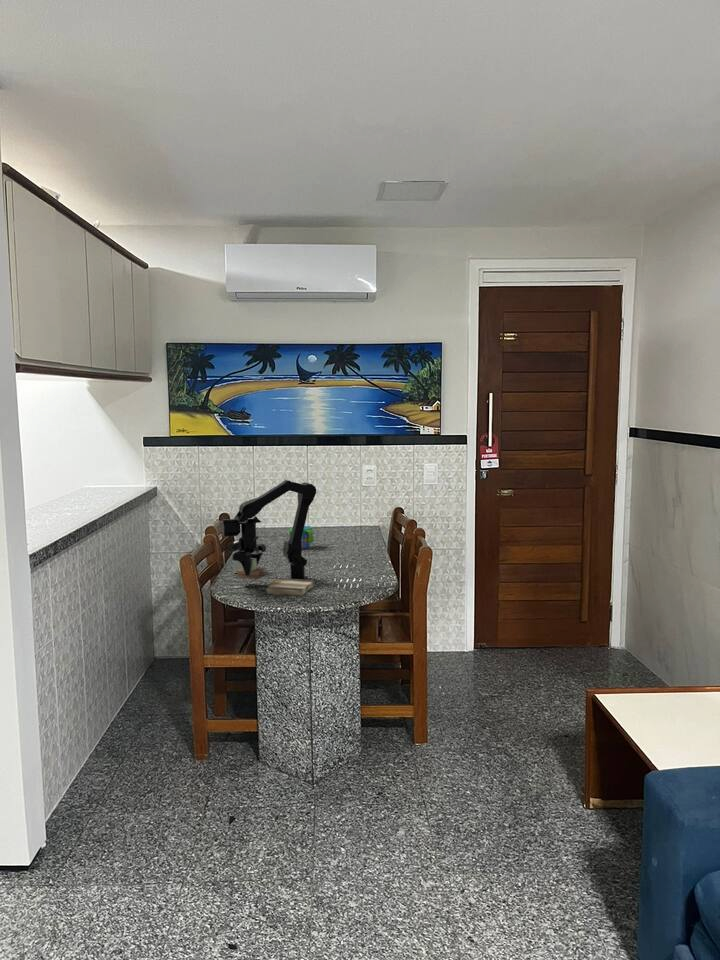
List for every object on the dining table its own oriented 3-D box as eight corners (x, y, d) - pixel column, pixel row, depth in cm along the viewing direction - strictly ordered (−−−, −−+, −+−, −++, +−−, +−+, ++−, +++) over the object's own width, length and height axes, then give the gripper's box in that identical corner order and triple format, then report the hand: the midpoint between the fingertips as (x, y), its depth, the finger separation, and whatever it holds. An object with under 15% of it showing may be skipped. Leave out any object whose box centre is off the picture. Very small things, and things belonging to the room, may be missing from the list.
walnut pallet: (243, 574, 285) (243, 567, 284) (264, 575, 282) (263, 568, 282) (237, 578, 279) (236, 570, 279) (258, 579, 277) (258, 571, 276)
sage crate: (247, 567, 283) (246, 558, 282) (256, 568, 282) (256, 558, 282) (243, 570, 279) (243, 560, 278) (253, 570, 278) (253, 560, 278)
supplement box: (252, 569, 308) (251, 540, 306) (250, 573, 300) (249, 543, 299) (235, 569, 307) (234, 540, 306) (233, 573, 300) (231, 544, 299)
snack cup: (283, 547, 351) (282, 527, 350) (301, 544, 358) (300, 524, 356) (301, 552, 339) (301, 531, 338) (319, 548, 346) (319, 528, 344)
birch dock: (281, 583, 282) (280, 578, 282) (314, 585, 278) (314, 580, 278) (266, 593, 269) (266, 587, 268) (301, 595, 265) (301, 589, 264)
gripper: (240, 529, 290) (242, 567, 292) (219, 538, 272) (221, 578, 274) (265, 530, 287) (267, 568, 289) (245, 539, 269) (247, 580, 271)
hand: (250, 573), depth 281 cm, fingers closed on walnut pallet, 6 cm apart
